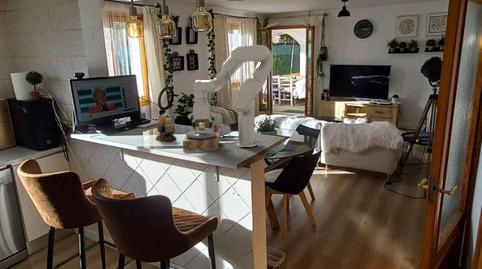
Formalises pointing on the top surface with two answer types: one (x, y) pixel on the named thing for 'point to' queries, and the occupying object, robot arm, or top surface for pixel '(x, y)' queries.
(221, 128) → the tin
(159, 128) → the owl figurine
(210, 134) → the pot lid
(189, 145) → the wheel block
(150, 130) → the top surface
